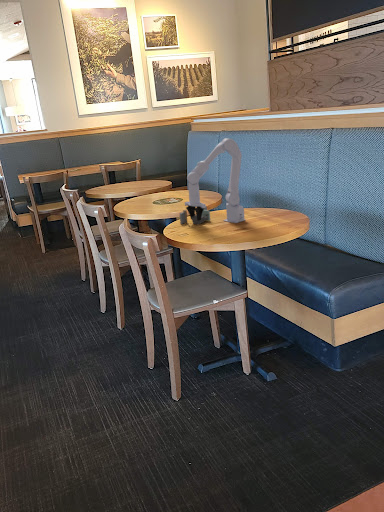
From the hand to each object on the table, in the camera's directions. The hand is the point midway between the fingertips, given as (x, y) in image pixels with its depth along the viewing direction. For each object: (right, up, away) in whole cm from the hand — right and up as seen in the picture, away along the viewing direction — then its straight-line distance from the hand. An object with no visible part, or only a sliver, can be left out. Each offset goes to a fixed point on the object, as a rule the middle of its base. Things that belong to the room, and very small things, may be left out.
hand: (196, 219), depth 244 cm
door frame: (-1, +1, +10) cm, 10 cm away
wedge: (+3, 0, +3) cm, 4 cm away
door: (+4, +1, +7) cm, 9 cm away
